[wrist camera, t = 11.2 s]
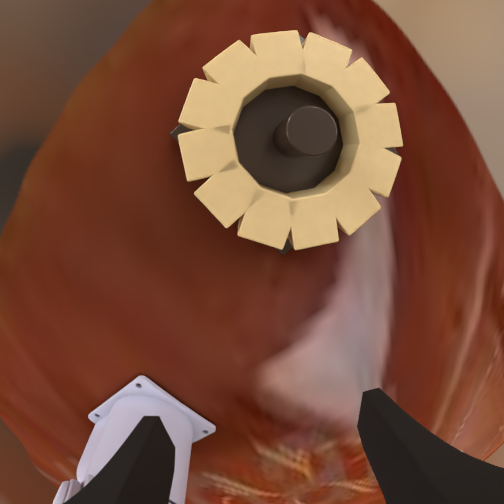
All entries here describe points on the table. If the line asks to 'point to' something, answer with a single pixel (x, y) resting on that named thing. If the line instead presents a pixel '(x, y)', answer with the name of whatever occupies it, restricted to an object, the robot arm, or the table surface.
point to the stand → (286, 140)
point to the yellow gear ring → (338, 100)
